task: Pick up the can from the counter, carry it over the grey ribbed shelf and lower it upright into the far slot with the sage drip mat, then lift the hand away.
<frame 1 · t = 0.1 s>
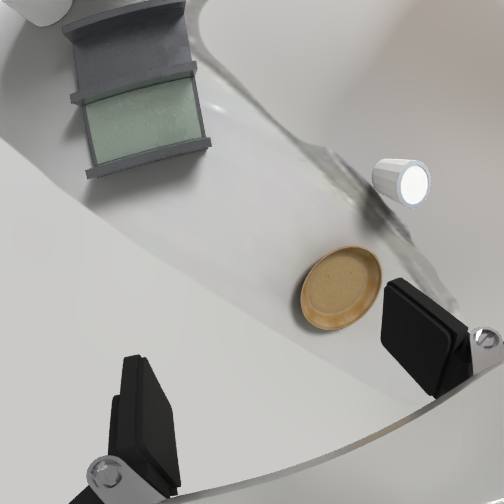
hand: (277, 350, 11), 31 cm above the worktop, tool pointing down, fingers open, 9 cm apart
plant saucer: (336, 282, 50), on the worktop
can: (52, 7, 25), on the worktop
grey ribbed shelf: (137, 86, 32), on the worktop
white cup: (385, 176, 45), on the worktop
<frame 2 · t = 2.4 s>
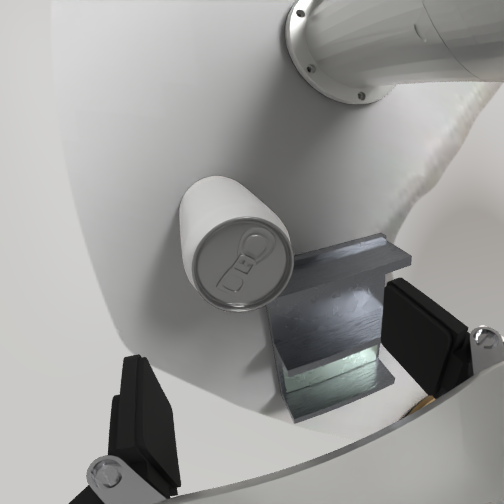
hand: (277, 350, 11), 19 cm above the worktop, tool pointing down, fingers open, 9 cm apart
plant saucer: (423, 408, 54), on the worktop
can: (215, 210, 28), on the worktop
grey ribbed shelf: (329, 323, 36), on the worktop
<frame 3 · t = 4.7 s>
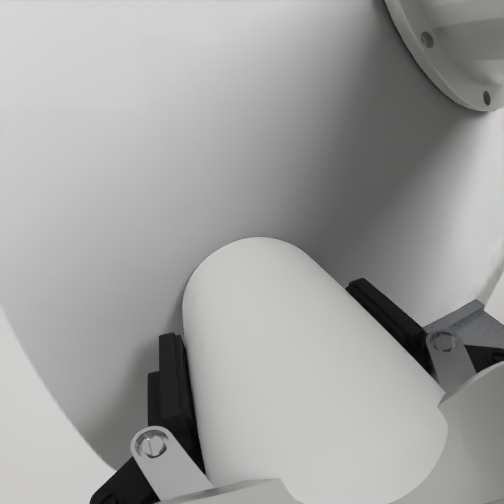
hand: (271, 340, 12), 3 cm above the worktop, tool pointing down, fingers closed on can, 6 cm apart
can: (251, 298, 15), on the worktop, touching gripper
grey ribbed shelf: (393, 416, 22), on the worktop
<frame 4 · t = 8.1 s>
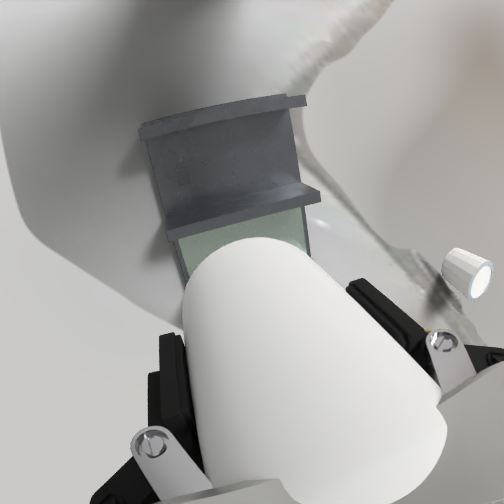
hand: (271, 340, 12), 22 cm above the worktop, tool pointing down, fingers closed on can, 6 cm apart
can: (250, 298, 15), point 19 cm above the worktop, touching gripper
grey ribbed shelf: (234, 200, 32), on the worktop
white cup: (451, 263, 45), on the worktop
when the fingers open (5 cm above the worktop, at t = 11.7 s): can stays where it is, resting on grey ribbed shelf.
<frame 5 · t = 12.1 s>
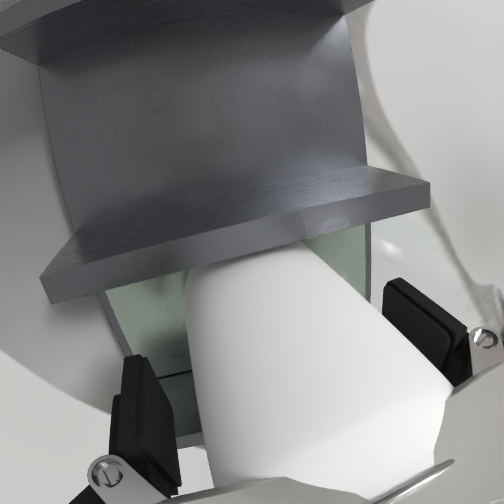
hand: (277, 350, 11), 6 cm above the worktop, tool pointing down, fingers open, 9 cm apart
can: (250, 287, 15), point 1 cm above the worktop, touching grey ribbed shelf
grey ribbed shelf: (226, 198, 14), on the worktop
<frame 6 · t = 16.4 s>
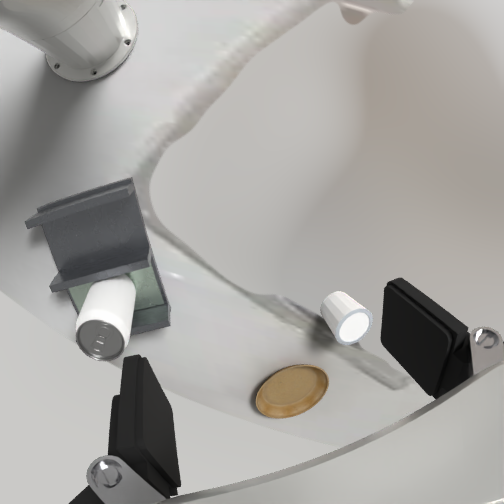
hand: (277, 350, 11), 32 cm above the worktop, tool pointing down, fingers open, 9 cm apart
plant saucer: (288, 384, 58), on the worktop
can: (114, 289, 41), point 1 cm above the worktop, touching grey ribbed shelf
grey ribbed shelf: (104, 259, 40), on the worktop
white cup: (334, 305, 53), on the worktop
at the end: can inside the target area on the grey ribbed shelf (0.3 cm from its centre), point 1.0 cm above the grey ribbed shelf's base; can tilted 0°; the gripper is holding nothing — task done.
